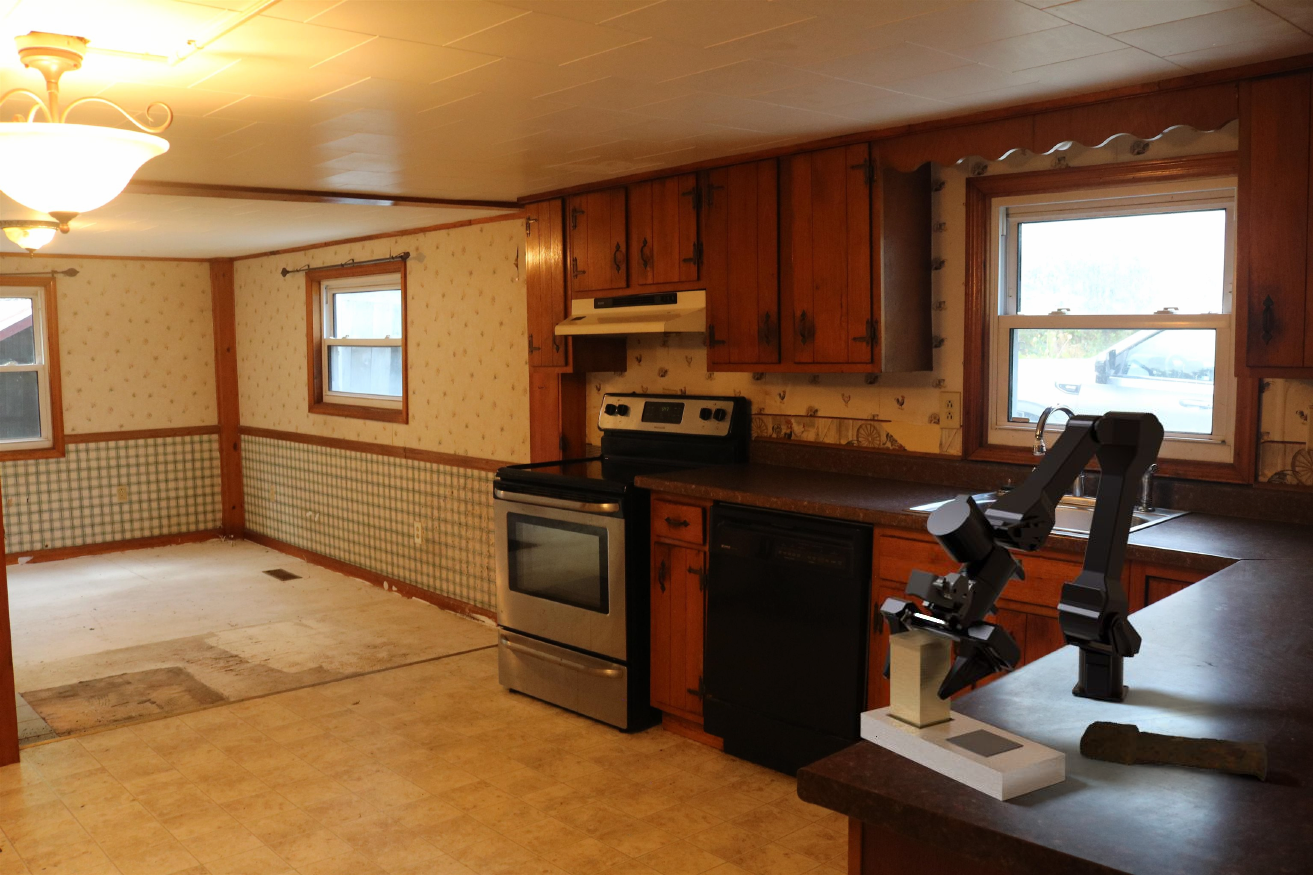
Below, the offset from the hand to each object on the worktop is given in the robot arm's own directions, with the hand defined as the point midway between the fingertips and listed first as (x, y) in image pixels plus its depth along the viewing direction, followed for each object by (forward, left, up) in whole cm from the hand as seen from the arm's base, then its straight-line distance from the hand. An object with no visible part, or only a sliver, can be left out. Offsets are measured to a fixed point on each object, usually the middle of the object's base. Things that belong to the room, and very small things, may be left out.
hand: (911, 687), depth 124 cm
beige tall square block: (-1, +1, -7) cm, 7 cm away
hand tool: (-7, +28, -7) cm, 30 cm away
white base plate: (+2, +6, -7) cm, 9 cm away
